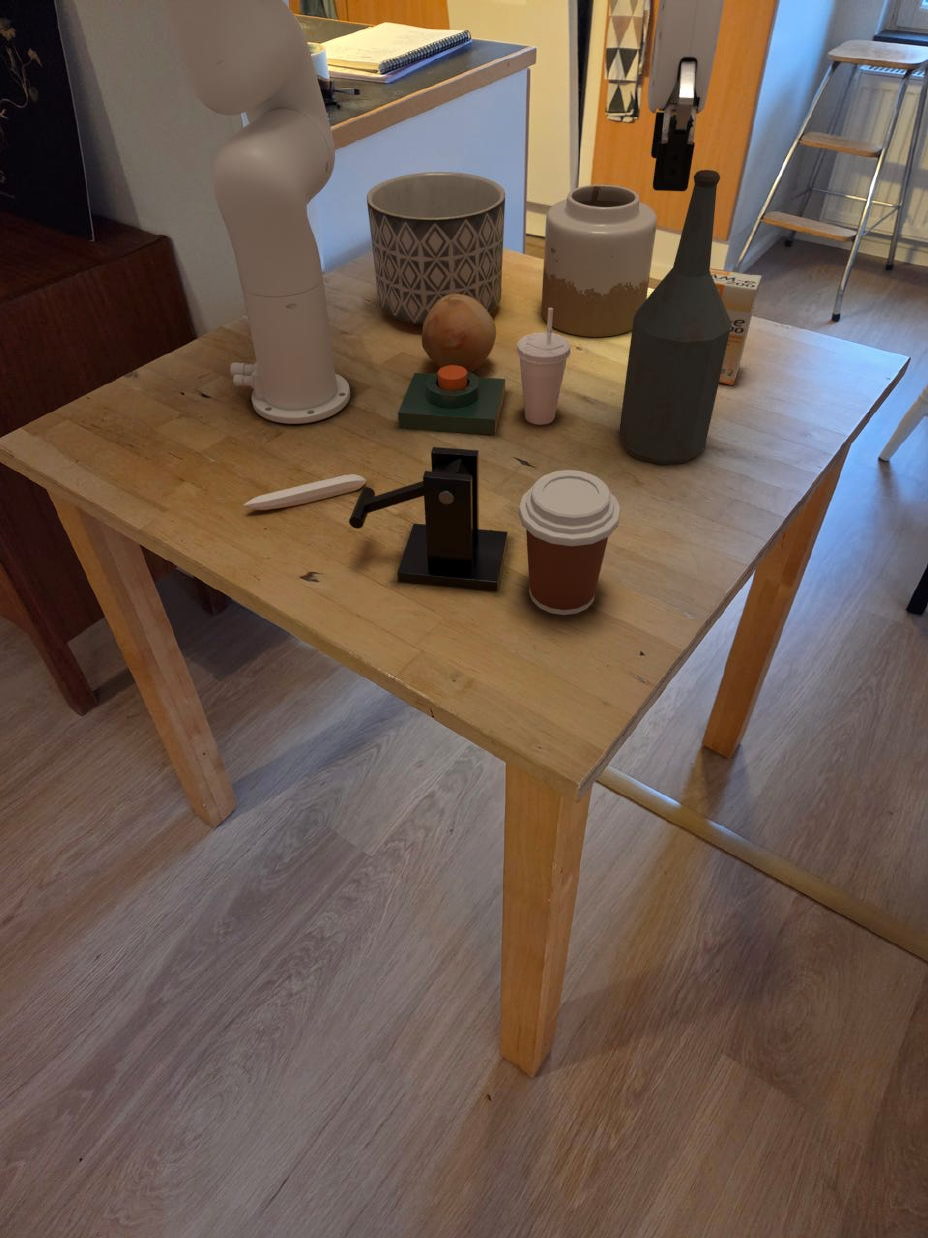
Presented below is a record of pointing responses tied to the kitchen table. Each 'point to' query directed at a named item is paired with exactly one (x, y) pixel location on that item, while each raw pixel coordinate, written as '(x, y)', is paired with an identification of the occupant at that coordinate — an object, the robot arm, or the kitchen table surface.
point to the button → (452, 378)
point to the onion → (458, 332)
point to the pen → (307, 492)
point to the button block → (452, 405)
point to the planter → (436, 241)
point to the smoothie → (542, 372)
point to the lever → (395, 495)
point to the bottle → (678, 346)
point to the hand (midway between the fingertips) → (668, 172)
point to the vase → (597, 260)
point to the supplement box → (736, 315)
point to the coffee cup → (567, 538)
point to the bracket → (453, 531)
